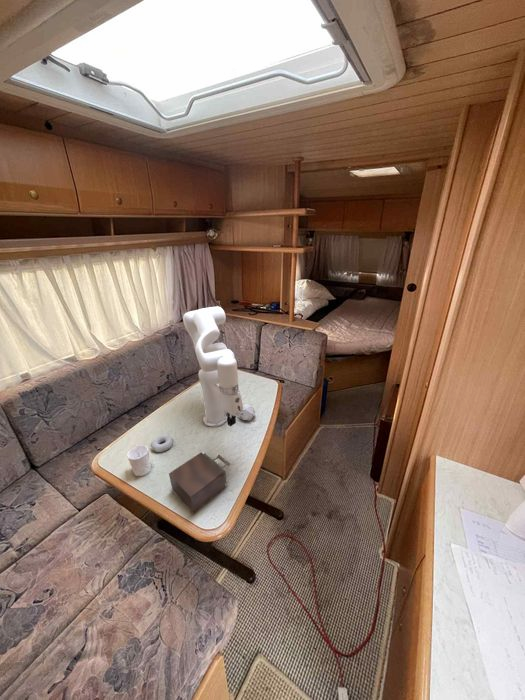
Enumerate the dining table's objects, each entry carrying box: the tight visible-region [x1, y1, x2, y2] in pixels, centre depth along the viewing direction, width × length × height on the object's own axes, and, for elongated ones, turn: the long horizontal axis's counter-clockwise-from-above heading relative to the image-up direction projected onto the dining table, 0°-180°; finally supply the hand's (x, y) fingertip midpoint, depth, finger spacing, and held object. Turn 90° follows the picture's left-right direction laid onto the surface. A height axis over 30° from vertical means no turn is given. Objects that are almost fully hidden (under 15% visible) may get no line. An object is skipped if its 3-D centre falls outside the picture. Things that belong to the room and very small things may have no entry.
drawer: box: [203, 452, 231, 485], centre depth 108 cm, size 18×14×7 cm
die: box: [239, 403, 256, 421], centre depth 145 cm, size 8×9×10 cm
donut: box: [150, 434, 174, 453], centre depth 129 cm, size 10×3×10 cm
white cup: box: [126, 444, 152, 477], centre depth 115 cm, size 8×8×10 cm
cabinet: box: [168, 452, 226, 514], centre depth 105 cm, size 15×15×9 cm
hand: (231, 424), depth 115 cm, fingers closed
